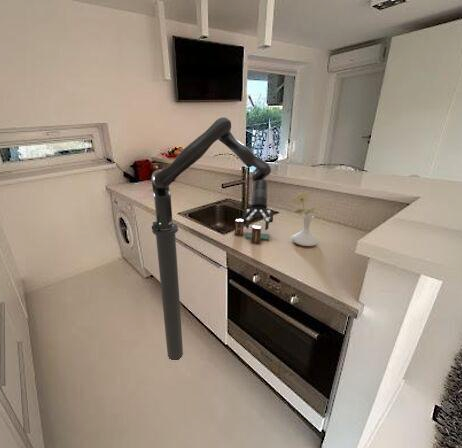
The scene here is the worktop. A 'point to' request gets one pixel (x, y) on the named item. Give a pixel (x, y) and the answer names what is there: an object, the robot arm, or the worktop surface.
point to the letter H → (239, 227)
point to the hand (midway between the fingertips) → (256, 228)
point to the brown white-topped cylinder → (256, 234)
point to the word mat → (262, 237)
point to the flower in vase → (304, 236)
